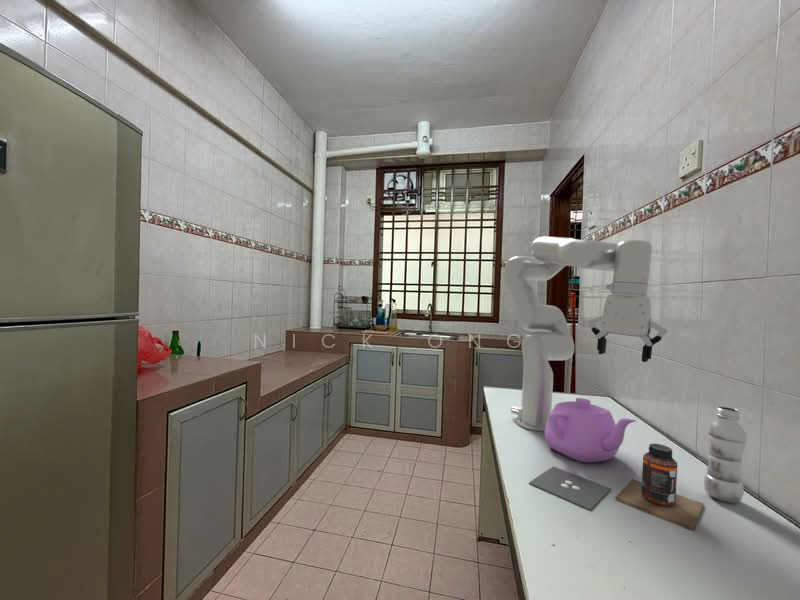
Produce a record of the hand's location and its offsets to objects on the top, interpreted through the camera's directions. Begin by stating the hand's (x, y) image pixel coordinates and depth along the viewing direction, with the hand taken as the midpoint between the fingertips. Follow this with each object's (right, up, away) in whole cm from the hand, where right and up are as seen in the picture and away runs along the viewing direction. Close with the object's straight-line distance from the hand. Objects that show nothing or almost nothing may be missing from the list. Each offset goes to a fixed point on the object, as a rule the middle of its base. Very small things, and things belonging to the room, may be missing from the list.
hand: (622, 357), depth 90 cm
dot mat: (-18, -28, -10) cm, 35 cm away
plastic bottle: (+15, -30, -12) cm, 35 cm away
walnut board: (-1, -29, -15) cm, 32 cm away
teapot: (-6, -29, +9) cm, 30 cm away
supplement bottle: (-1, -28, -14) cm, 32 cm away
